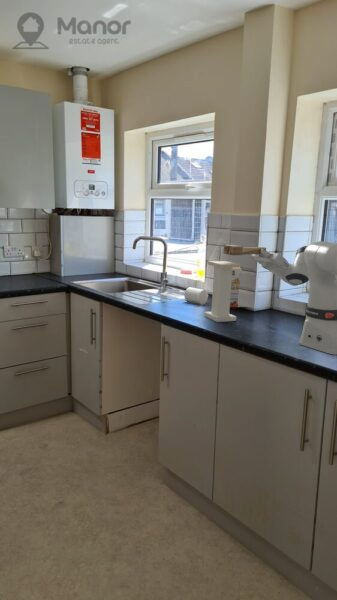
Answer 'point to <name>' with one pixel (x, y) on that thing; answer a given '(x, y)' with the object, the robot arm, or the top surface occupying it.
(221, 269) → the stand
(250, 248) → the mallet
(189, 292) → the mug
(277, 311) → the top surface
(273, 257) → the robot arm
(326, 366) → the top surface
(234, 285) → the cracker box
